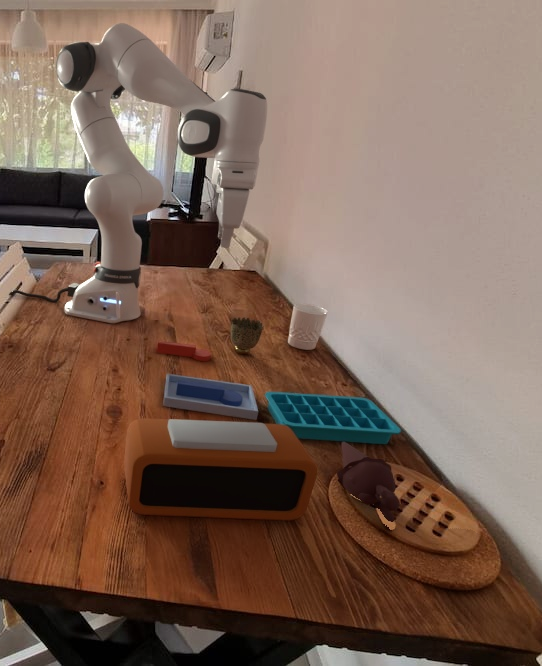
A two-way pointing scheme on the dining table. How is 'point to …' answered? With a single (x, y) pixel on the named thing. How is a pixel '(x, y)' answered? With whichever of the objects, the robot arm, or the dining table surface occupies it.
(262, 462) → the alarm clock
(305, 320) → the white cup
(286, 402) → the ice cube tray
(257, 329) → the cup
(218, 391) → the blue spoon
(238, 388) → the blue tray
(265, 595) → the dining table surface
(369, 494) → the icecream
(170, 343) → the red spoon
